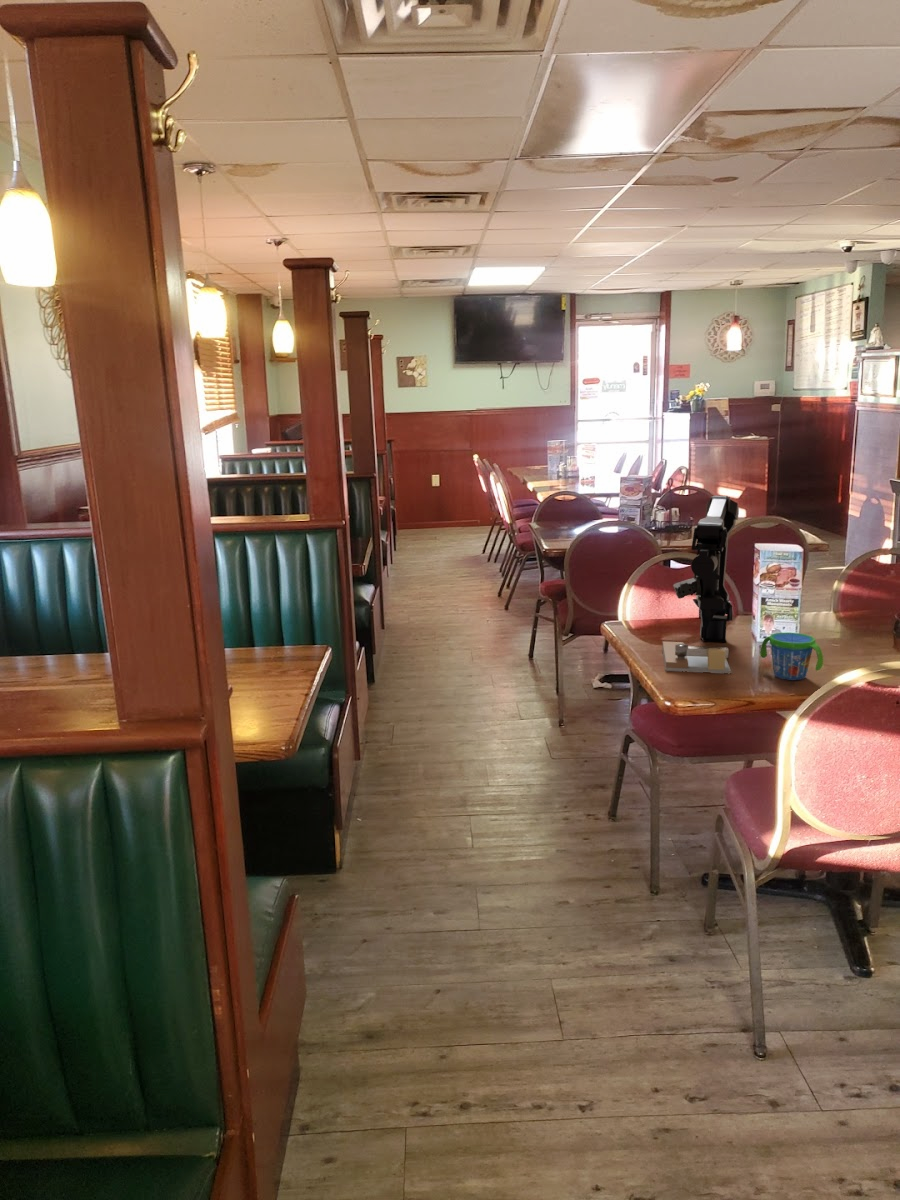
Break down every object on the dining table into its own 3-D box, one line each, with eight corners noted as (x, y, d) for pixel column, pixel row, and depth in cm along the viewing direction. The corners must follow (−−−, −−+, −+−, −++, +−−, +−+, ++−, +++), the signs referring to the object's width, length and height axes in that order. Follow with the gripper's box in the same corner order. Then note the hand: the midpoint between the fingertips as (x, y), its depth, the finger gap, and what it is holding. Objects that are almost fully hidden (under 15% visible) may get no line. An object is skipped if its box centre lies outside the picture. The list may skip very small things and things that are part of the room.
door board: (722, 651, 233) (723, 632, 232) (730, 673, 214) (732, 652, 213) (662, 649, 236) (663, 630, 235) (665, 670, 217) (666, 649, 216)
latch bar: (675, 656, 218) (676, 646, 218) (674, 652, 221) (674, 643, 221) (728, 658, 216) (729, 648, 216) (726, 654, 219) (727, 645, 219)
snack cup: (749, 672, 215) (752, 633, 213) (776, 665, 221) (779, 627, 218) (803, 688, 202) (806, 647, 200) (830, 681, 208) (834, 641, 205)
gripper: (671, 563, 232) (669, 618, 235) (681, 577, 214) (678, 636, 217) (713, 563, 231) (710, 618, 234) (727, 577, 212) (723, 637, 216)
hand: (704, 627), depth 225 cm, fingers closed
